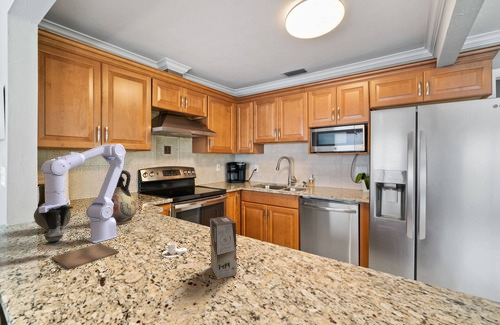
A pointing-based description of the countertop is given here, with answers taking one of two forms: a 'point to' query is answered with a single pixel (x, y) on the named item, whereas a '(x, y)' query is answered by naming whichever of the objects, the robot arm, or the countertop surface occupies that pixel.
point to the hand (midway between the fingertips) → (56, 227)
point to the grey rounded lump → (42, 222)
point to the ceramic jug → (123, 201)
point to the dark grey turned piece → (54, 235)
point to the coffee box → (223, 247)
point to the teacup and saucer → (173, 250)
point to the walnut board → (84, 255)
